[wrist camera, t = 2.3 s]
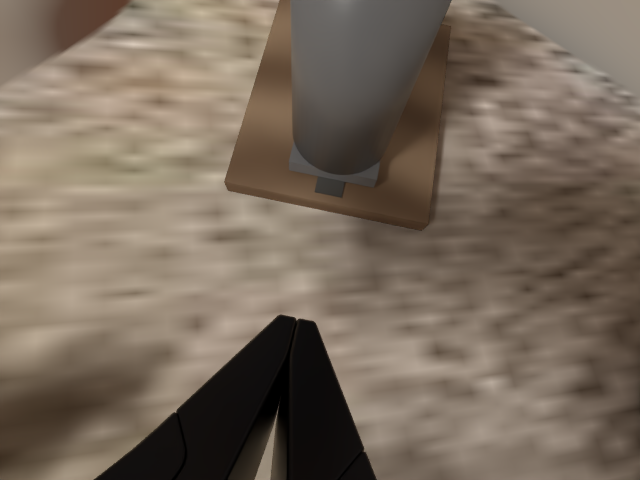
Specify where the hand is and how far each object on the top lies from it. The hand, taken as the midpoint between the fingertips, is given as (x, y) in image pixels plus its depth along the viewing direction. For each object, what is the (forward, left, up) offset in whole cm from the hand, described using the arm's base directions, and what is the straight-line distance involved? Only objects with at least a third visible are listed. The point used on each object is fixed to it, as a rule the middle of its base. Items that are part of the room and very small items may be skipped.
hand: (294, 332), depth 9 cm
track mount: (+15, -7, -12) cm, 20 cm away
